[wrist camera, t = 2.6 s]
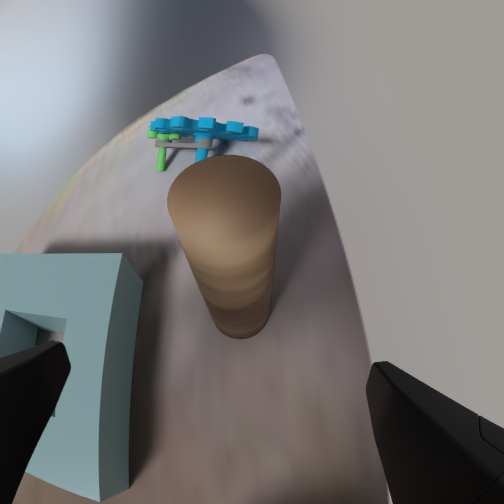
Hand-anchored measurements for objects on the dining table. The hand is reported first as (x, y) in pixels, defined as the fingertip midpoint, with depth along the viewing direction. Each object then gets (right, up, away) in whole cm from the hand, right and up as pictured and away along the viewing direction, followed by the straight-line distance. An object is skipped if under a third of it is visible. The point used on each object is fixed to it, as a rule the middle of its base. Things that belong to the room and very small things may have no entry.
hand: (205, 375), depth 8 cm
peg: (0, -1, +14) cm, 14 cm away
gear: (-4, +12, +22) cm, 25 cm away
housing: (-14, -6, +11) cm, 19 cm away
